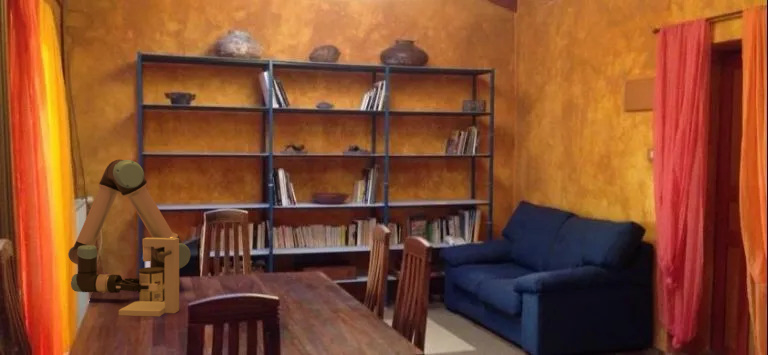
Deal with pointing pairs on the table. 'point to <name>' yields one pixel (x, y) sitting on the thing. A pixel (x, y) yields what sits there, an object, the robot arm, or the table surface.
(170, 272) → the press
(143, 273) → the coffee can
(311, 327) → the table surface
